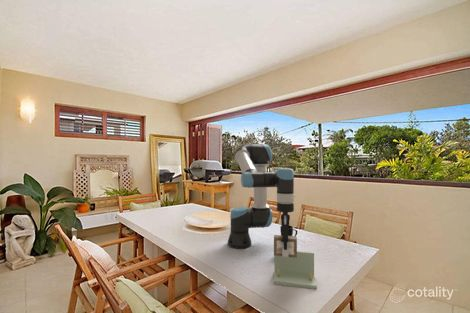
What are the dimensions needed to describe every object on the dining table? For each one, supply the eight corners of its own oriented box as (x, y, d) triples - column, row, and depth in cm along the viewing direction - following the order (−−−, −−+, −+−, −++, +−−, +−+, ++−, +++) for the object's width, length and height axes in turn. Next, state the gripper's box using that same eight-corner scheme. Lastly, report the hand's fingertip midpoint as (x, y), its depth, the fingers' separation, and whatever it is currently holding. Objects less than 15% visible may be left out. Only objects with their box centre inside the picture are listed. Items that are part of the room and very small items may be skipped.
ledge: (273, 283, 100) (273, 258, 100) (274, 271, 110) (274, 248, 111) (316, 289, 96) (316, 262, 96) (313, 276, 106) (313, 252, 107)
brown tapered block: (273, 255, 102) (273, 237, 103) (274, 252, 106) (274, 234, 107) (296, 257, 100) (296, 239, 100) (296, 254, 104) (296, 236, 104)
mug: (292, 245, 144) (292, 230, 145) (277, 240, 154) (277, 226, 154) (300, 242, 150) (300, 228, 150) (285, 238, 159) (285, 224, 159)
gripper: (294, 206, 95) (294, 263, 94) (293, 199, 111) (293, 248, 111) (275, 205, 96) (276, 261, 96) (277, 199, 113) (277, 246, 112)
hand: (285, 254), depth 103 cm, fingers closed on brown tapered block, 4 cm apart
